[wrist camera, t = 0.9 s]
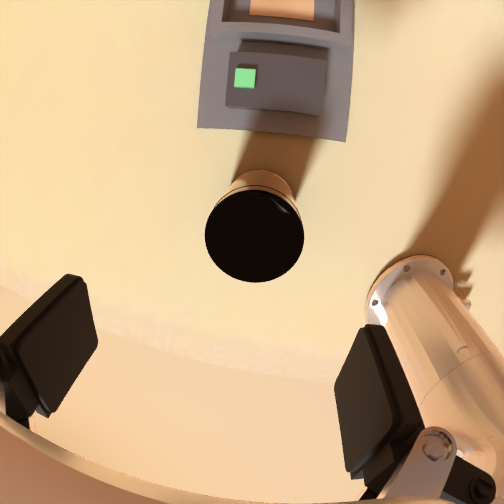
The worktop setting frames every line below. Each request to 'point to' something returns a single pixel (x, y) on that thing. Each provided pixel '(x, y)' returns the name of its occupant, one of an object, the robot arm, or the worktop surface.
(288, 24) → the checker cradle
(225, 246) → the supplement container
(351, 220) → the worktop surface
